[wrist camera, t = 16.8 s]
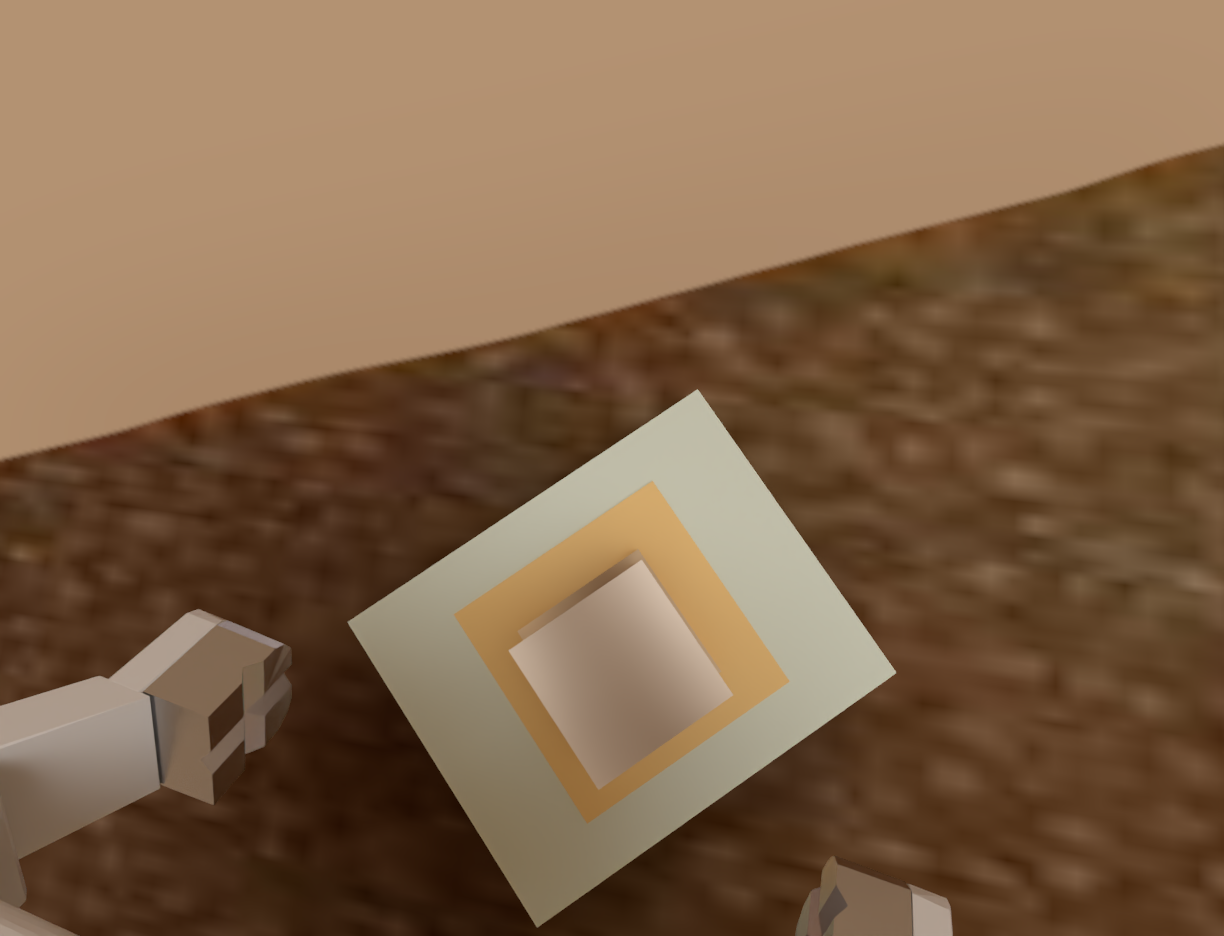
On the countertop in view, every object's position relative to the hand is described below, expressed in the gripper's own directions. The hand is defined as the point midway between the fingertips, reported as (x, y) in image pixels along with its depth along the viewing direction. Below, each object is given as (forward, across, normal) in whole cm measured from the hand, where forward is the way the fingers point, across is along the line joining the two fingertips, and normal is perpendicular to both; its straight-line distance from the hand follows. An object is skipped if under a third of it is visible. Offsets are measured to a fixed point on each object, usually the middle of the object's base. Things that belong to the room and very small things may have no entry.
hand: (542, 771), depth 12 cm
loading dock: (+19, +1, +14) cm, 24 cm away
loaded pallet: (+16, +1, +12) cm, 20 cm away
